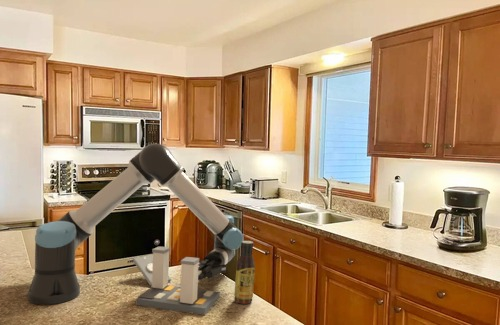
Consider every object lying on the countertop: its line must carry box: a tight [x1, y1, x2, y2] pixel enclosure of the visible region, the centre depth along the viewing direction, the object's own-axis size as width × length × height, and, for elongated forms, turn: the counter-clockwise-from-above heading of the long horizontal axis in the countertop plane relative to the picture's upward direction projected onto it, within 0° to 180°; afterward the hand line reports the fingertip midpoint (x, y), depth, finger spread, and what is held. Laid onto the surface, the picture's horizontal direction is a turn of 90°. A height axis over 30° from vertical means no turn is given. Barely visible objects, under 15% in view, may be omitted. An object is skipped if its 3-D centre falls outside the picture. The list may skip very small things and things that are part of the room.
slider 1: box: [151, 246, 171, 289], centre depth 127 cm, size 4×4×13 cm
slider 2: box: [180, 256, 200, 304], centre depth 116 cm, size 4×4×13 cm
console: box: [135, 284, 221, 316], centre depth 121 cm, size 23×14×2 cm, turn 77°
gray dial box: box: [132, 253, 172, 288], centre depth 141 cm, size 8×6×14 cm
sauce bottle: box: [233, 240, 256, 305], centre depth 123 cm, size 7×6×20 cm
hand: (192, 280), depth 118 cm, fingers closed
